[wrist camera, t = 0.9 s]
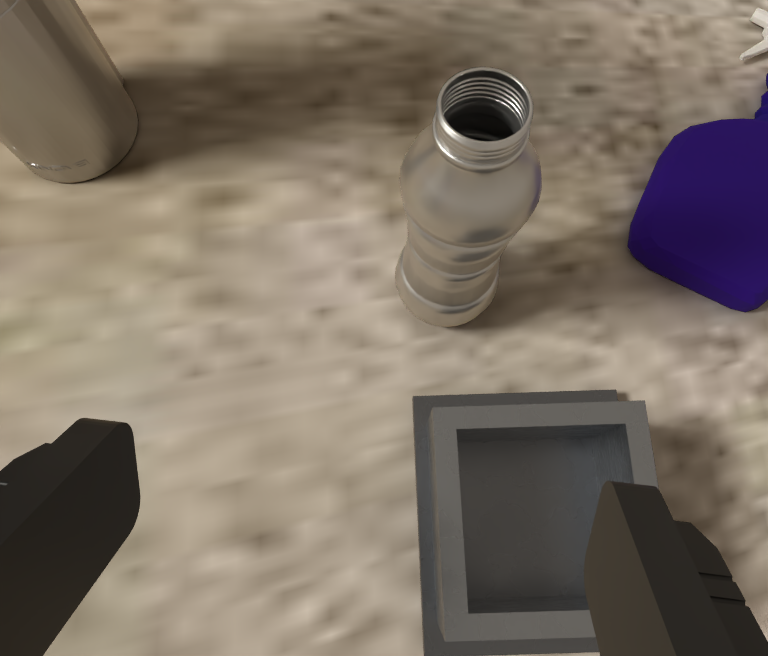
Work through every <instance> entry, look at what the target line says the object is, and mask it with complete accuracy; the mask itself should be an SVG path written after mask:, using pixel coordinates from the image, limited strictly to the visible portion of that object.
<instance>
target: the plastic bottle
mask: <svg viewBox="0 0 768 656" xmlns="http://www.w3.org/2000/svg"><path fill="white" fill-rule="evenodd" d="M532 118H533V101H532V97H531V95H530V92H529V90H528V89H527V87H526V86H525V85H524V84H523V83H522V82H521V81H520V80H519V79H518V78H517V77H515V76H514V75H512V74H510V73H508V72H506V71H503V70H501V69H497V68H492V67H474V68H469V69H466V70H463V71H461V72H459V73H456V74H455V75H454V76H452V77H451V78H449V80H448V81H447V82H446V83H445V84H444V85H443V87H442V89H441V90H440V93H439V96H438V99H437V106H436V112H435V114H434V118H433V123H432V124H430V125H429V126H428V127H426V128H425V129H423V131H422V132H421V133H420V134H419V135H418V136H417V137H416V138H415V140H414V141H413V143H412V145H411V146H410V148H409V149H408V151H407V153H406V154H405V156H404V159H403V162H402V165H401V170H400V189H401V196H402V201H403V205H404V209H405V213H406V217H407V226H408V237H407V241H406V245H405V247H404V248H403V250H402V252H401V254H400V257H399V259H398V263H397V266H396V271H395V281H396V287H397V290H398V292H399V295H400V297H401V299H402V301H403V303H404V305H405V306H406V308H407V309H408V310H409V311H410V312H411V313H412V314H413V315H414V316H416V317H417V318H418V319H420V320H422V321H424V322H426V323H428V324H431V325H435V326H441V327H452V326H458V325H462V324H465V323H467V322H469V321H471V320H473V319H474V318H475V317H477V316H478V315H479V314H480V313H482V312H483V311H484V310H485V309H486V308H487V307H488V306H489V305H490V303H491V302H492V300H493V298H494V296H495V294H496V291H497V287H498V280H499V262H500V257H501V255H502V253H503V251H504V250H505V248H506V246H507V244H508V243H509V241H510V240H511V239H512V238H513V237H514V236H515V234H516V233H517V232H518V231H519V230H520V229H521V228H522V226H523V225H524V224H525V223H526V222H527V221H528V219H529V217H530V216H531V214H532V213H533V211H534V209H535V207H536V205H537V203H538V202H539V198H540V194H541V188H542V177H541V167H540V162H539V158H538V155H537V153H536V151H535V149H534V146H533V145H532V144H531V142H530V141H529V140H528V139H529V135H530V125H531V121H532Z"/></svg>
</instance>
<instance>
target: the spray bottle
mask: <svg viewBox="0 0 768 656" xmlns="http://www.w3.org/2000/svg"><path fill="white" fill-rule="evenodd" d="M750 21H752V22H753V23H755V24H757V25H759V26H761V27H763V28H764V29H763V32H762V35H763V37H764V40H763V41H761V42H760V43H758V44H756V45H755V46H753V47H752V48H750V49H749V50H747V51H746V52H744V53H742V54H741V55H740V57H739V58H740V60H744V59H747V58H751V57H754V56H756V55H759V54H761V53H764V52H766V51H768V12H767V11H765V10H762V9H760V8H757V10H756V11H755V12H754V14H753V15H752V17H751V18H750ZM766 85H767V88H768V74H767V76H766ZM628 248H629V250H630V252H631V253H632V255H633V257H635V258H636V259H637V260H638V261H640V262H641V263H642V264H643V265H645V266H646V267H647V268H648V269H650V270H652V271H654V272H656V273H658V274H660V275H662V276H664V277H666V278H668V279H670V280H672V281H674V282H676V283H678V284H680V285H682V286H684V287H687V288H689V289H691V290H693V291H695V292H697V293H699V294H701V295H703V296H705V297H707V298H710V299H712V300H714V301H716V302H718V303H720V304H722V305H724V306H726V307H728V308H730V309H734V310H739V311H743V312H747V311H751V310H754V309H757V308H758V307H760V306H761V305H762V304H763V303H764V302H766V301H767V300H768V91H767V92H766V93H765V94H764V95H762V96H761V108H759V109H758V110H757V112H756V113H755V119H725V120H717V121H713V122H708V123H703V124H699V125H694V126H690V127H688V128H687V129H685V130H684V131H682V132H681V133H679V134H677V135H676V136H674V138H673V139H672V140H671V142H670V143H669V144H668V146H667V147H666V149H665V150H664V151H663V153H662V154H661V155H660V157H659V159H658V161H657V163H656V165H655V168H654V170H653V172H652V175H651V177H650V179H649V182H648V184H647V186H646V189H645V191H644V193H643V195H642V198H641V200H640V202H639V205H638V207H637V210H636V212H635V215H634V217H633V220H632V222H631V225H630V232H629V240H628Z"/></svg>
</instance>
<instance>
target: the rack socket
mask: <svg viewBox="0 0 768 656" xmlns="http://www.w3.org/2000/svg"><path fill="white" fill-rule="evenodd" d="M412 401H413V424H414V446H415V469H416V491H417V514H418V536H419V559H420V581H421V603H422V626H423V648H424V656H483V655H516V654H549V653H581V652H599V648H598V644H597V640H596V635H595V631H594V627H593V623H592V619H591V615H590V610H589V606H588V602H587V598H586V593H585V586H584V562H585V555H586V550H587V546H588V542H589V538H590V534H591V530H592V526H593V521H594V517H595V513H596V509H597V505H598V501H599V497H600V493H601V489H602V487H603V485H604V483H605V482H606V481H616V482H624V483H633V484H641V485H650V486H655V487H657V488H658V481H657V475H656V469H655V462H654V456H653V450H652V443H651V437H650V431H649V425H648V418H647V412H646V406H645V400H644V401H618V399H617V392H616V390H591V391H560V392H529V393H499V394H468V395H438V396H413V399H412ZM658 489H659V488H658Z"/></svg>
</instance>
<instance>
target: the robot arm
mask: <svg viewBox="0 0 768 656" xmlns="http://www.w3.org/2000/svg"><path fill="white" fill-rule="evenodd" d="M123 82H124V80H123V78H122V76H121V75H120V73H119V71H118V70H117V68H116V66H115V65H114V63H113V62H112V60H111V58H110V57H109V55H108V53H107V52H106V50H105V48H104V47H103V45H102V44H101V42H100V40H99V39H98V37H97V35H96V34H95V32H94V30H93V29H92V27H91V26H90V24H89V22H88V21H87V19H86V17H85V16H84V14H83V13H82V11H81V9H80V8H79V6H78V4H77V3H76V1H75V0H0V141H1V142H2V143H3V144H4V145H5V146H6V147H7V148H8V149H9V150H10V151H11V152H12V153H13V154H14V155H15V156H16V157H18V158H19V159H20V160H21V161H22V162H23V163H24V164H25V165H26V166H27V167H28V168H29V169H30V170H31V171H33V172H34V173H35V174H37V175H39V176H41V177H43V178H44V179H47V180H51V181H55V182H64V183H73V182H81V181H85V180H89V179H92V178H95V177H97V176H99V175H101V174H103V173H105V172H107V171H109V170H110V169H111V168H113V167H114V166H115V165H117V164H118V163H119V162H120V161H121V160H122V159H123V158H124V156H125V155H126V154H127V153H128V151H129V150H130V148H131V146H132V145H133V143H134V140H135V137H136V134H137V128H138V118H137V111H136V109H135V107H134V104H133V102H132V100H131V99H130V97H129V95H128V94H127V92H126V91H125V89H124V87H123ZM139 507H140V489H139V480H138V472H137V463H136V454H135V446H134V437H133V432H132V429H131V427H130V426H129V424H127V423H124V422H115V421H107V420H98V419H90V418H81V419H79V420H77V421H76V422H75V423H74V424H73V425H72V426H70V427H69V428H68V429H67V430H66V431H65V432H64V433H63V434H62V435H61V436H59V437H58V438H57V439H56V440H55V441H54V442H53V443H52V444H49V443H45V444H43V445H41V446H39V447H37V448H35V449H33V450H31V451H29V452H27V453H25V454H23V455H21V456H19V457H17V458H16V459H14V460H13V461H11V462H10V463H9V464H8V465H7V466H6V467H5V468H3V469H2V470H1V471H0V656H43V655H44V653H45V652H46V650H47V649H48V648H49V646H50V645H51V643H52V642H53V641H54V639H55V638H56V636H57V635H58V634H59V632H60V631H61V629H62V628H63V627H64V625H65V624H66V622H67V621H68V620H69V618H70V617H71V615H72V614H73V612H74V611H75V610H76V608H77V607H78V605H79V604H80V603H81V601H82V600H83V598H84V597H85V596H86V594H87V593H88V591H89V590H90V589H91V587H92V586H93V584H94V583H95V582H96V580H97V579H98V577H99V576H100V575H101V573H102V572H103V570H104V569H105V568H106V566H107V565H108V563H109V562H110V561H111V559H112V558H113V556H114V555H115V554H116V552H117V551H118V549H119V548H120V547H121V545H122V544H123V542H124V541H125V540H126V538H127V537H128V535H129V534H130V532H131V531H132V529H133V527H134V525H135V522H136V519H137V516H138V512H139ZM584 586H585V593H586V598H587V602H588V606H589V610H590V615H591V619H592V623H593V627H594V631H595V635H596V640H597V644H598V648H599V652H600V656H768V642H767V640H766V638H765V636H764V634H763V632H762V630H761V629H760V627H759V625H758V623H757V621H756V619H755V617H754V616H753V614H752V612H751V610H750V608H749V607H747V606H745V599H744V597H743V595H742V593H741V591H740V590H739V588H738V586H737V584H736V582H733V581H732V575H731V573H730V571H729V569H728V567H727V565H726V564H725V562H724V560H723V558H722V556H721V554H720V553H719V551H718V549H717V548H716V547H715V546H714V545H713V544H712V543H711V542H710V541H709V540H708V539H707V538H706V537H705V536H704V535H703V534H702V533H701V532H700V531H699V530H698V529H697V528H696V527H694V526H693V525H692V524H691V523H689V522H680V521H674V520H673V518H672V516H671V514H670V512H669V510H668V507H667V505H666V503H665V501H664V499H663V497H662V495H661V493H660V491H659V489H658V488H657V487H655V486H650V485H641V484H633V483H624V482H616V481H606V482H605V483H604V485H603V487H602V489H601V493H600V497H599V501H598V505H597V509H596V513H595V517H594V521H593V526H592V530H591V534H590V538H589V542H588V546H587V550H586V555H585V562H584Z"/></svg>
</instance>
